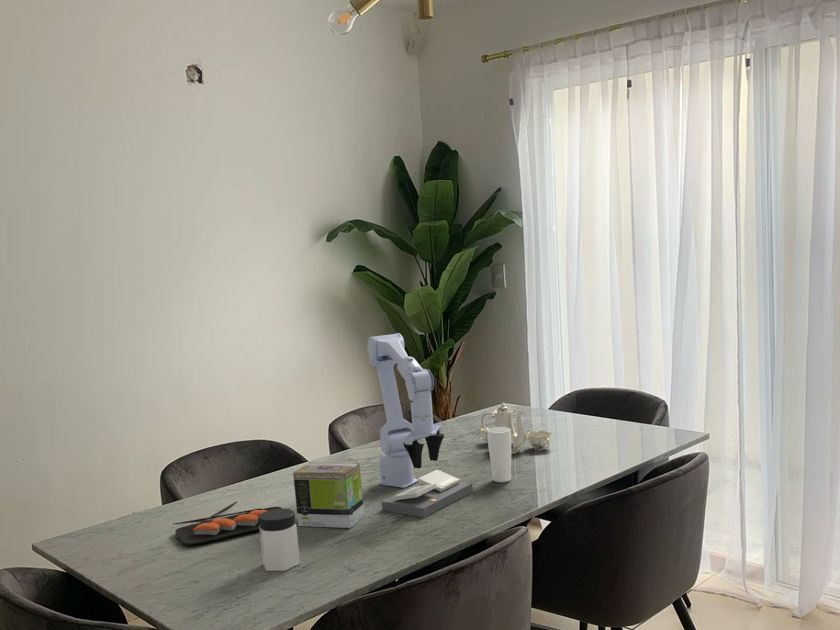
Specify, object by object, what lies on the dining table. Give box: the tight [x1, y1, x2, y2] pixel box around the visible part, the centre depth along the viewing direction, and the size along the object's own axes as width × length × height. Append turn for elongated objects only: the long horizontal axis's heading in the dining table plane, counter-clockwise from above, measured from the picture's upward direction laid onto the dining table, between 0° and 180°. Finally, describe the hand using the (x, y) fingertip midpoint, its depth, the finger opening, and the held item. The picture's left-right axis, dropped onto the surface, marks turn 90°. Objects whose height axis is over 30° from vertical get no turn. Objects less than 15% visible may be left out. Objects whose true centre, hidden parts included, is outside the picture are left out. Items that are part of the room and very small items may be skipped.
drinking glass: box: [487, 427, 512, 483], centre depth 250 cm, size 7×7×15 cm
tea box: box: [292, 462, 365, 529], centre depth 226 cm, size 15×10×15 cm, turn 71°
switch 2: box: [417, 469, 461, 492], centre depth 241 cm, size 8×9×1 cm
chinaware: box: [477, 402, 553, 455], centre depth 283 cm, size 28×17×17 cm, turn 58°
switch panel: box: [381, 481, 474, 519], centre depth 237 cm, size 14×23×3 cm, turn 144°
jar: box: [258, 508, 301, 572], centre depth 199 cm, size 9×8×12 cm
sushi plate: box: [173, 501, 284, 546], centre depth 233 cm, size 29×30×4 cm
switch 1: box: [393, 484, 437, 500], centre depth 232 cm, size 8×9×1 cm
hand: (425, 464), depth 236 cm, fingers open, 7 cm apart
